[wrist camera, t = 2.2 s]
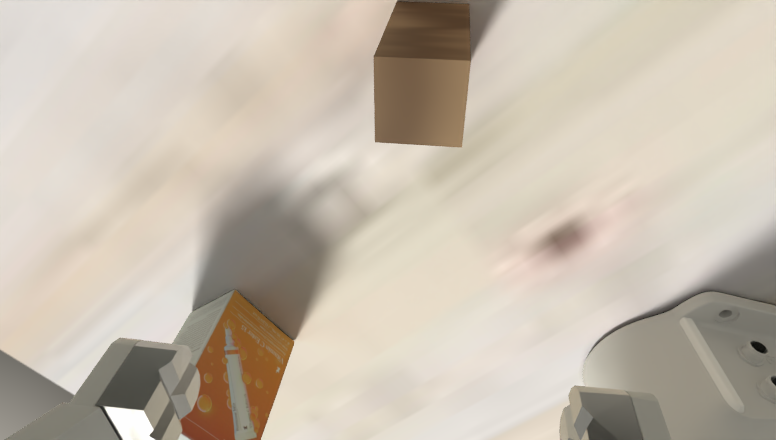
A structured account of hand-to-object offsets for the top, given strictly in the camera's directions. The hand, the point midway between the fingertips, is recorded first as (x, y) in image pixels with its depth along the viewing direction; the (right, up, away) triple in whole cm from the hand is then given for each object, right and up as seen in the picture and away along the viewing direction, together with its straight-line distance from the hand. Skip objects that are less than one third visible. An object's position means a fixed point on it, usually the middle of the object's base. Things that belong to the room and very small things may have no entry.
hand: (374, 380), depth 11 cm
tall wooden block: (+3, +14, +18) cm, 23 cm away
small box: (-13, -6, +36) cm, 39 cm away
